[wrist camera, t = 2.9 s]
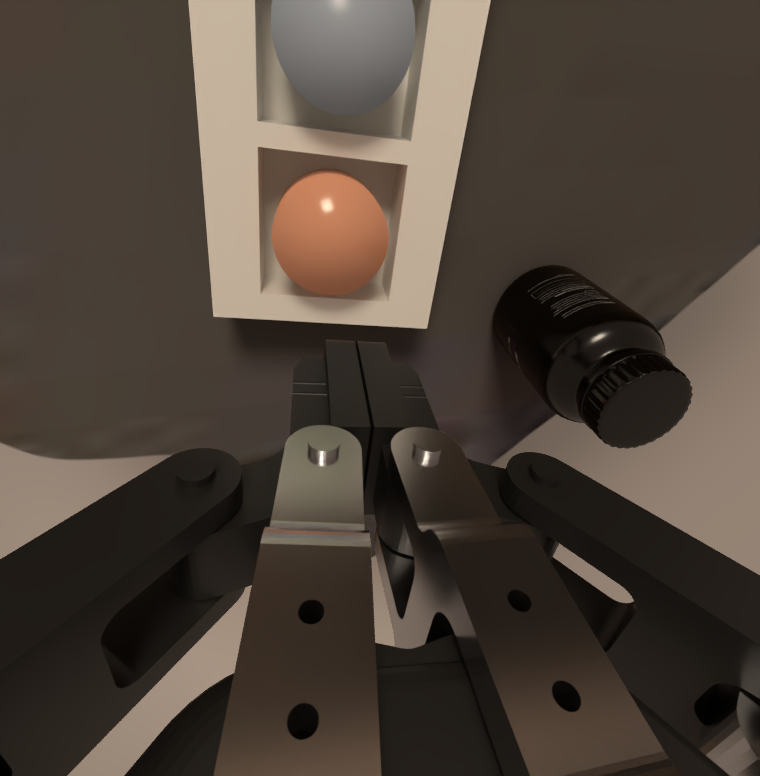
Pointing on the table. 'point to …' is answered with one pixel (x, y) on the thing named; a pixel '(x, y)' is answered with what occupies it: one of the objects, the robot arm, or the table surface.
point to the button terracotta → (329, 232)
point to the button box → (328, 160)
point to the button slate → (344, 50)
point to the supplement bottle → (591, 356)
